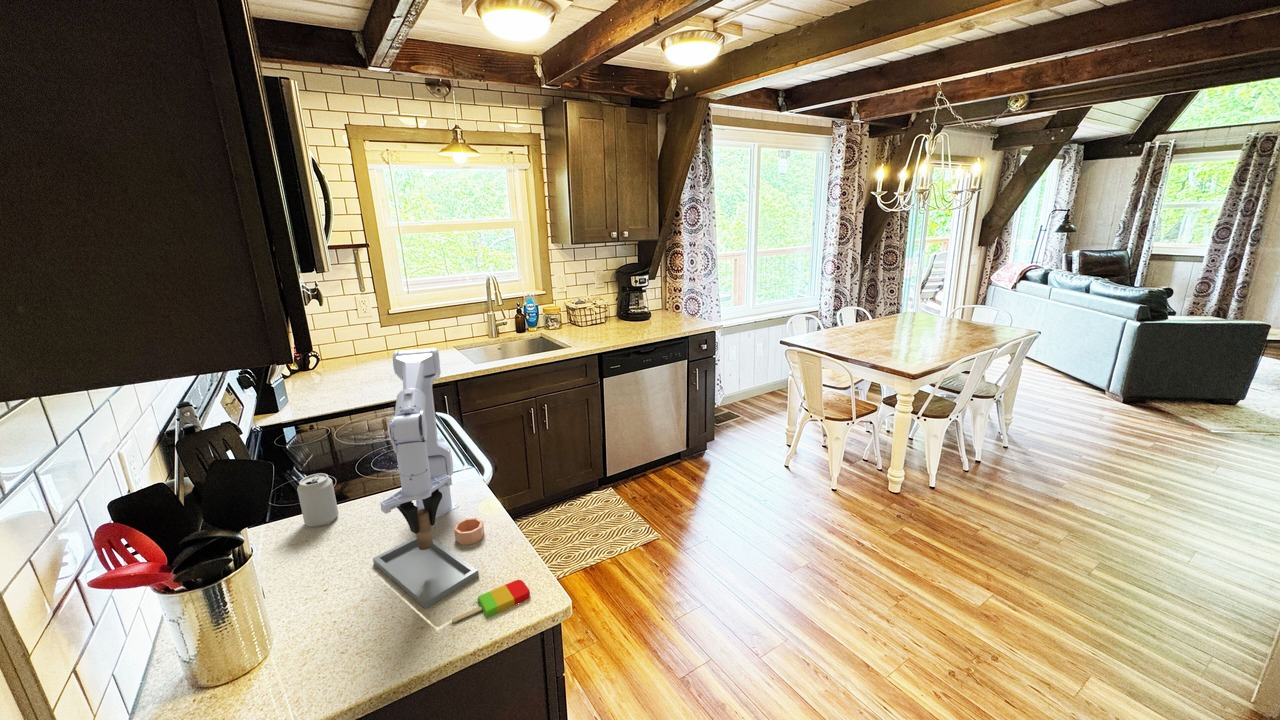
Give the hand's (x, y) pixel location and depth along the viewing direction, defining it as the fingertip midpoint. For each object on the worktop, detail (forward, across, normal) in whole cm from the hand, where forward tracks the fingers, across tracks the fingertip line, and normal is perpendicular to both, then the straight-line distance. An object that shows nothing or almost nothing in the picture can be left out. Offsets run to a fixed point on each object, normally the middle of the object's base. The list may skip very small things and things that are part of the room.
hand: (422, 527), depth 107 cm
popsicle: (+11, +2, -20) cm, 23 cm away
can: (+11, -7, +40) cm, 42 cm away
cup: (+10, +12, +3) cm, 16 cm away
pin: (+4, 0, 0) cm, 4 cm away
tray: (+10, -1, 0) cm, 11 cm away
